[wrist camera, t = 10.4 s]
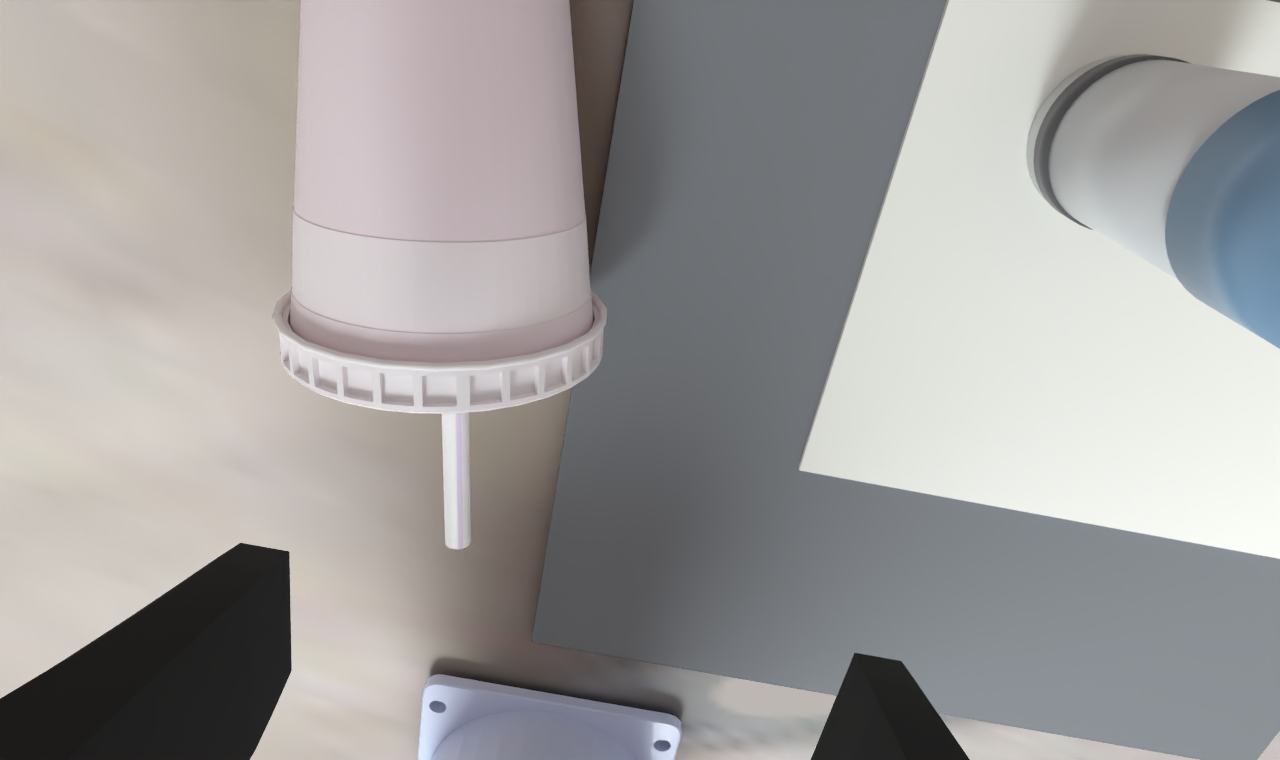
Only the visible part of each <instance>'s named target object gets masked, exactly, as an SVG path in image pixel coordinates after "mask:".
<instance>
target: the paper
mask: <svg viewBox="0 0 1280 760" xmlns="http://www.w3.org/2000/svg"><path fill="white" fill-rule="evenodd" d="M1134 54H1149V55H1157V56H1164V57H1171V58H1176V59H1180V60H1183V61H1186V62H1189V63H1191V64H1197V65H1203V66H1210V67H1216V68H1223V69H1229V70H1236V71H1243V72H1249V73H1256V74H1262V75H1269V76H1275V77H1280V3H1278V2H1273V1H1269V0H947V1H946V4H945V8H944V11H943V14H942V17H941V20H940V23H939V26H938V30H937V33H936V36H935V39H934V42H933V45H932V48H931V52H930V55H929V58H928V61H927V64H926V67H925V70H924V74H923V77H922V80H921V83H920V86H919V89H918V92H917V96H916V99H915V102H914V105H913V108H912V111H911V114H910V118H909V121H908V124H907V127H906V130H905V133H904V136H903V140H902V143H901V146H900V149H899V152H898V155H897V158H896V162H895V165H894V168H893V171H892V174H891V177H890V180H889V184H888V187H887V190H886V193H885V196H884V199H883V202H882V206H881V209H880V212H879V215H878V218H877V221H876V224H875V228H874V231H873V234H872V237H871V240H870V243H869V246H868V250H867V253H866V256H865V259H864V262H863V265H862V268H861V272H860V275H859V278H858V281H857V284H856V287H855V290H854V294H853V297H852V300H851V303H850V306H849V309H848V312H847V316H846V319H845V322H844V325H843V328H842V331H841V334H840V338H839V341H838V344H837V347H836V350H835V353H834V356H833V359H832V363H831V366H830V369H829V372H828V375H827V378H826V381H825V385H824V388H823V391H822V394H821V397H820V400H819V403H818V407H817V410H816V413H815V416H814V419H813V422H812V425H811V429H810V432H809V435H808V438H807V441H806V444H805V447H804V451H803V454H802V457H801V460H800V463H799V466H798V468H799V470H800V471H805V472H811V473H816V474H821V475H827V476H832V477H838V478H843V479H849V480H854V481H859V482H865V483H870V484H876V485H881V486H887V487H892V488H898V489H903V490H908V491H914V492H919V493H925V494H930V495H936V496H941V497H946V498H952V499H957V500H963V501H968V502H974V503H979V504H985V505H990V506H995V507H1001V508H1006V509H1012V510H1017V511H1023V512H1028V513H1033V514H1039V515H1044V516H1050V517H1055V518H1061V519H1066V520H1072V521H1077V522H1082V523H1088V524H1093V525H1099V526H1104V527H1110V528H1115V529H1120V530H1126V531H1131V532H1137V533H1142V534H1148V535H1153V536H1159V537H1164V538H1169V539H1175V540H1180V541H1186V542H1191V543H1197V544H1202V545H1207V546H1213V547H1218V548H1224V549H1229V550H1235V551H1240V552H1246V553H1251V554H1256V555H1262V556H1267V557H1273V558H1278V559H1280V349H1279V348H1277V347H1276V346H1274V345H1272V344H1271V343H1269V342H1267V341H1266V340H1264V339H1262V338H1261V337H1259V336H1258V335H1256V334H1254V333H1253V332H1251V331H1249V330H1248V329H1246V328H1244V327H1243V326H1241V325H1239V324H1238V323H1236V322H1234V321H1233V320H1231V319H1229V318H1228V317H1226V316H1224V315H1223V314H1221V313H1219V312H1218V311H1216V310H1214V309H1213V308H1211V307H1209V306H1208V305H1206V304H1205V303H1203V302H1201V301H1200V300H1198V299H1196V298H1195V297H1194V296H1193V295H1192V294H1190V293H1189V292H1188V291H1187V290H1186V289H1185V288H1184V286H1183V285H1182V284H1181V283H1180V282H1179V280H1178V279H1176V278H1174V277H1173V276H1171V275H1169V274H1168V273H1166V272H1164V271H1162V270H1161V269H1159V268H1157V267H1156V266H1154V265H1152V264H1151V263H1149V262H1147V261H1145V260H1144V259H1142V258H1140V257H1139V256H1137V255H1135V254H1134V253H1132V252H1130V251H1128V250H1127V249H1125V248H1123V247H1122V246H1120V245H1118V244H1116V243H1115V242H1113V241H1111V240H1110V239H1108V238H1106V237H1105V236H1103V235H1101V234H1099V233H1098V232H1096V231H1094V230H1091V229H1088V228H1086V227H1083V226H1081V225H1079V224H1077V223H1075V222H1074V221H1072V220H1070V219H1069V218H1067V217H1065V216H1064V215H1062V214H1061V213H1059V212H1058V211H1056V210H1055V209H1054V208H1053V207H1052V206H1051V205H1050V204H1049V203H1048V202H1047V201H1046V200H1045V199H1043V197H1042V196H1041V195H1040V194H1039V193H1038V191H1037V190H1036V188H1035V186H1034V185H1033V183H1032V180H1031V178H1030V175H1029V171H1028V167H1027V157H1026V153H1027V142H1028V137H1029V133H1030V130H1031V126H1032V124H1033V121H1034V119H1035V117H1036V115H1037V113H1038V111H1039V109H1040V108H1041V106H1042V104H1043V103H1044V101H1045V100H1046V99H1047V97H1048V96H1049V95H1050V94H1051V93H1052V91H1053V90H1054V89H1055V88H1056V87H1057V86H1058V85H1059V84H1060V83H1061V82H1063V81H1064V80H1065V79H1066V78H1067V77H1069V76H1070V75H1071V74H1073V73H1074V72H1076V71H1077V70H1079V69H1081V68H1082V67H1084V66H1086V65H1088V64H1090V63H1093V62H1095V61H1098V60H1101V59H1104V58H1108V57H1113V56H1119V55H1134Z"/></svg>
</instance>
